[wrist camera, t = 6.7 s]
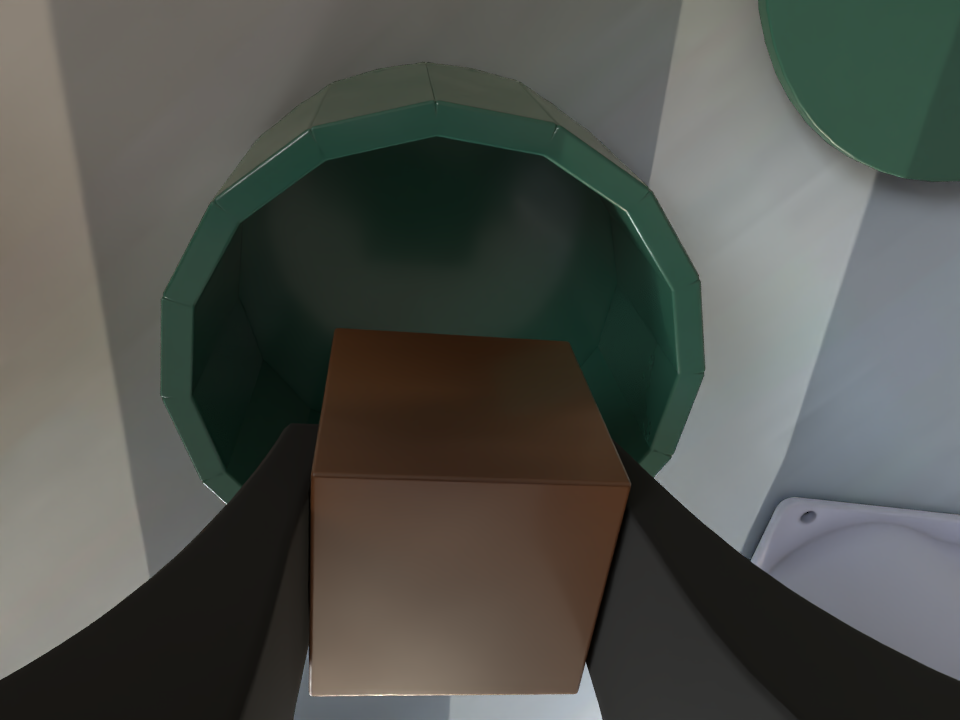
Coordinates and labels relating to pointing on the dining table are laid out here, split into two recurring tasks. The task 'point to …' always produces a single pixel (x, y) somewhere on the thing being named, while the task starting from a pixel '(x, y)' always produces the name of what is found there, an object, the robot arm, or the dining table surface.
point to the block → (457, 517)
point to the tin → (424, 261)
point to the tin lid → (874, 78)
